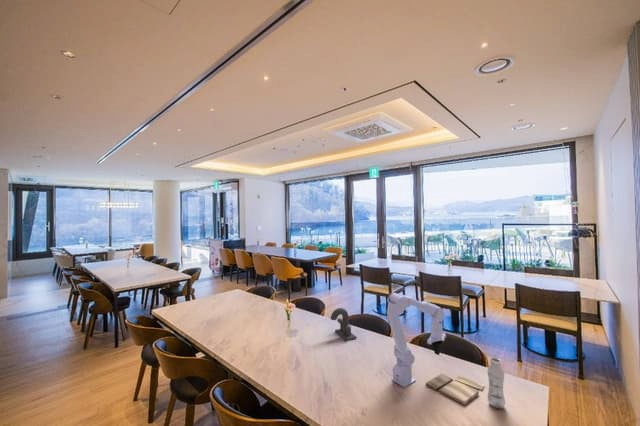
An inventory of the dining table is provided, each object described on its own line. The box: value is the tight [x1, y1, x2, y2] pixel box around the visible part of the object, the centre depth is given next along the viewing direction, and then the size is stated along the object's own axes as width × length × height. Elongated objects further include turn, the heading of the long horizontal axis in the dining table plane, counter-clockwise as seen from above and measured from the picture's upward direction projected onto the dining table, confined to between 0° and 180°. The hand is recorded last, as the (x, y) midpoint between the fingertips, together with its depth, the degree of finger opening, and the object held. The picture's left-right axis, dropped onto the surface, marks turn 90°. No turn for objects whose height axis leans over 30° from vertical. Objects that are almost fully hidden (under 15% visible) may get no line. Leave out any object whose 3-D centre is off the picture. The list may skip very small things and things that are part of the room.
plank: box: [454, 375, 486, 392], centre depth 137 cm, size 5×12×1 cm, turn 46°
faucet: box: [330, 307, 358, 342], centre depth 194 cm, size 18×16×20 cm
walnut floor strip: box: [425, 373, 454, 392], centre depth 137 cm, size 14×6×1 cm, turn 125°
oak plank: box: [438, 379, 480, 406], centre depth 129 cm, size 13×12×1 cm
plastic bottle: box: [486, 357, 506, 410], centre depth 121 cm, size 6×7×20 cm
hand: (437, 353), depth 147 cm, fingers closed
